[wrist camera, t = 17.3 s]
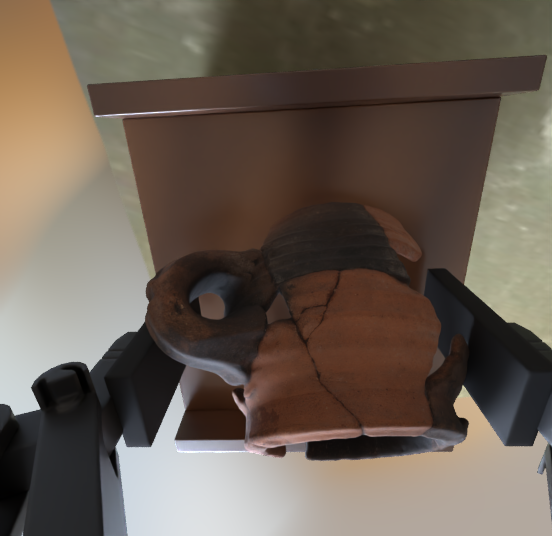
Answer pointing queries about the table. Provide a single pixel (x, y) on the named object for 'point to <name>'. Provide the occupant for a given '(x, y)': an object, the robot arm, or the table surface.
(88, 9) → the table surface
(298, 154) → the shelf
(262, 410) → the pottery mug
